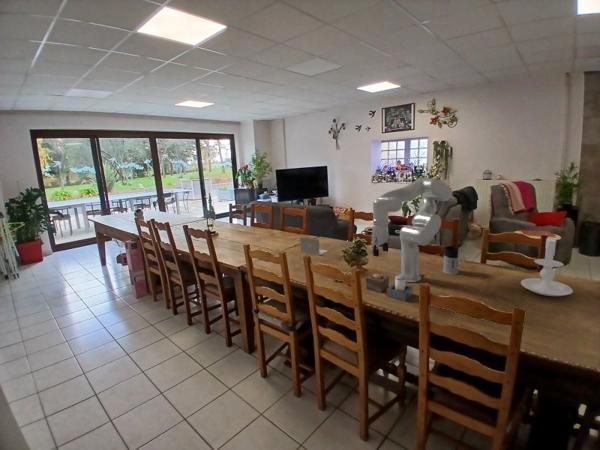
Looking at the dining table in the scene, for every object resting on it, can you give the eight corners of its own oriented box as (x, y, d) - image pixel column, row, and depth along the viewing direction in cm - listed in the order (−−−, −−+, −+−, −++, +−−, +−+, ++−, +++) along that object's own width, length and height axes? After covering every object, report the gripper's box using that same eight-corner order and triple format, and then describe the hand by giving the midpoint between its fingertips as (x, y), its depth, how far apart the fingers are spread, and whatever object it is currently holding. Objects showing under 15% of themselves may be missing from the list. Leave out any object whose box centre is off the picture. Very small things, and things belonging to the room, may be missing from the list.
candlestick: (578, 289, 158) (586, 235, 152) (566, 305, 143) (574, 247, 137) (529, 278, 174) (535, 229, 168) (514, 292, 159) (519, 239, 153)
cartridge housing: (395, 289, 170) (395, 282, 169) (413, 294, 163) (413, 286, 163) (386, 296, 163) (386, 289, 162) (405, 301, 156) (405, 293, 155)
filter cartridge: (397, 292, 167) (397, 274, 164) (406, 294, 163) (406, 276, 161) (393, 295, 163) (393, 277, 161) (402, 298, 160) (402, 279, 158)
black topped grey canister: (450, 268, 196) (451, 245, 192) (469, 275, 182) (470, 251, 179) (439, 270, 193) (440, 247, 190) (457, 278, 180) (458, 253, 177)
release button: (375, 283, 177) (375, 273, 175) (383, 285, 174) (383, 274, 172) (371, 285, 173) (371, 275, 172) (379, 287, 170) (379, 277, 169)
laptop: (328, 251, 244) (328, 235, 242) (319, 256, 235) (318, 239, 232) (310, 248, 256) (309, 233, 253) (300, 252, 246) (299, 236, 243)
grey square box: (374, 283, 180) (374, 273, 179) (388, 286, 174) (388, 276, 173) (366, 288, 174) (366, 278, 172) (381, 292, 168) (380, 281, 166)
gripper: (382, 218, 173) (382, 248, 176) (365, 225, 161) (365, 256, 165) (395, 220, 168) (395, 250, 171) (378, 226, 156) (378, 259, 159)
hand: (380, 253), depth 168 cm, fingers open, 9 cm apart
